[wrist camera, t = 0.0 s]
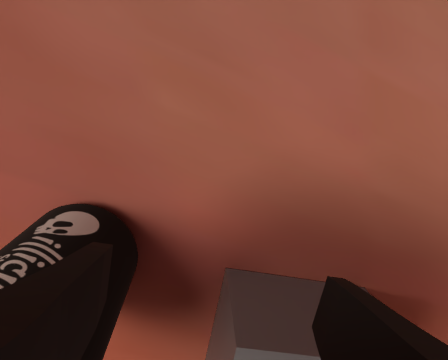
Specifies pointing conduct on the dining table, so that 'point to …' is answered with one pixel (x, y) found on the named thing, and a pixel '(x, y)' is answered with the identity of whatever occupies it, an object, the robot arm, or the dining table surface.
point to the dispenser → (265, 317)
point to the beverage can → (69, 243)
